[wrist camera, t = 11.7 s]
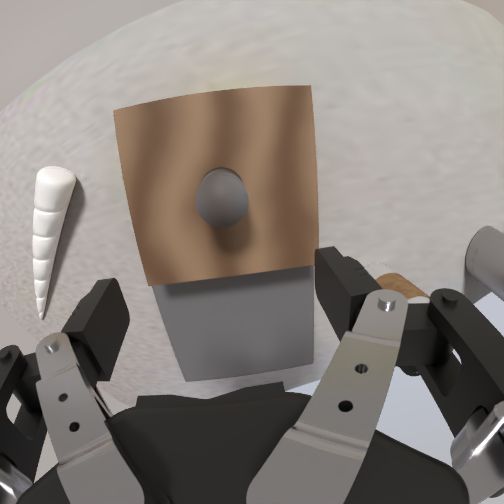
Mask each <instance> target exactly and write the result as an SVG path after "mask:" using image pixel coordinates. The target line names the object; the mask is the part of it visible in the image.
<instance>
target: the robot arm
mask: <svg viewBox="0 0 504 504" xmlns="http://www.w3.org/2000/svg"><path fill="white" fill-rule="evenodd" d="M314 259H315V290H316V294H317V298H318V300H319V302H320V304H321V306H322V308H323V310H324V311H325V313H326V315H327V317H328V319H329V321H330V323H331V325H332V327H333V329H334V331H335V333H336V335H337V337H338V339H339V341H340V344H339V346H338V348H337V350H336V352H335V354H334V356H333V358H332V360H331V362H330V364H329V366H328V368H327V370H326V372H325V373H324V375H323V377H322V379H321V381H320V383H319V385H318V387H317V388H316V390H315V392H314V394H313V395H312V396H310V395H306V394H302V393H294V392H285V390H284V386H283V382H277V383H271V384H265V385H259V386H252V387H245V388H242V389H239V390H236V391H233V392H230V393H227V394H224V395H221V396H218V397H214V398H211V399H198V398H190V397H183V396H176V395H150V396H138V398H137V402H136V406H135V407H131V408H128V409H125V410H123V411H121V412H119V413H117V414H115V415H113V414H112V412H111V411H110V409H109V408H108V406H107V404H106V402H105V400H104V398H103V397H102V395H101V393H100V391H99V389H98V388H97V386H96V384H97V381H110V378H111V375H112V372H113V369H114V366H115V363H116V360H117V357H118V354H119V351H120V348H121V346H122V343H123V340H124V337H125V334H126V332H127V329H128V326H129V322H130V316H129V311H128V308H127V305H126V303H125V300H124V297H123V294H122V292H121V289H120V286H119V283H118V281H117V280H116V279H115V278H110V279H103V280H98V281H97V282H96V284H95V285H94V287H93V288H92V290H91V291H90V293H88V294H87V295H86V296H85V297H84V298H82V299H81V300H80V302H79V303H78V305H77V306H76V309H75V310H74V311H73V313H72V315H71V316H70V318H69V319H68V321H67V322H66V324H65V326H64V327H63V329H62V331H61V332H58V333H53V334H50V335H48V336H47V337H45V338H44V339H42V340H41V341H40V342H39V344H38V346H37V347H36V352H35V353H31V354H28V355H25V356H24V355H23V354H22V352H21V351H20V349H19V347H18V346H16V345H10V346H7V347H5V348H3V349H1V350H0V504H479V503H480V502H482V501H484V500H485V499H487V498H488V497H489V498H493V497H498V496H500V495H502V494H503V493H504V337H503V336H502V335H501V333H500V332H499V331H498V330H497V329H496V328H495V327H494V326H493V325H492V324H491V323H490V322H489V320H488V319H487V318H486V317H485V316H484V315H483V314H482V313H481V312H480V311H479V310H478V309H477V308H476V307H475V306H474V305H473V304H472V303H471V302H470V301H469V300H468V299H467V298H466V297H465V296H464V295H463V294H461V293H460V292H458V291H456V290H452V289H446V288H444V289H438V290H435V291H434V292H432V294H431V296H430V301H429V303H408V300H407V299H406V297H405V296H404V295H402V294H401V293H399V292H397V291H393V290H387V289H383V288H382V287H381V286H380V285H379V284H378V283H377V282H376V280H375V279H374V278H373V277H372V276H371V275H370V274H369V273H368V271H367V270H366V269H364V267H363V266H362V265H361V264H360V263H359V262H358V261H357V260H355V259H353V258H351V257H349V256H347V257H343V256H342V255H341V254H340V252H339V251H338V250H337V249H336V248H335V247H334V246H333V247H326V248H320V249H316V250H315V254H314ZM466 268H467V271H468V272H469V273H470V274H471V275H472V276H473V277H475V278H476V279H477V280H478V281H480V282H481V283H482V284H483V285H485V286H486V287H487V288H488V289H489V290H491V291H492V292H493V293H494V294H495V295H497V296H498V297H499V298H500V299H501V300H503V301H504V233H502V232H500V231H498V230H497V229H495V228H493V227H491V226H487V227H484V228H482V229H481V230H480V231H478V233H477V234H476V235H475V236H474V238H473V239H472V241H471V243H470V245H469V248H468V251H467V255H466ZM453 349H455V351H456V352H457V353H458V355H459V356H460V359H461V363H462V365H461V364H460V362H459V361H458V359H457V358H456V357H455V355H454V354H453V352H452V351H453ZM414 365H415V367H416V368H417V370H418V372H419V373H420V375H421V377H422V379H423V380H424V382H425V383H426V385H427V387H428V389H429V391H430V393H431V394H432V396H433V398H434V400H435V401H436V403H437V405H438V407H439V409H440V411H441V413H442V414H443V416H444V418H445V420H446V422H447V424H448V426H449V427H450V430H451V432H452V434H453V436H454V438H455V439H454V440H453V442H452V445H451V450H450V452H451V458H452V466H453V468H452V467H451V466H449V465H447V464H446V463H444V462H442V461H439V460H437V459H435V458H433V457H431V456H428V455H426V454H424V453H422V452H420V451H418V450H416V449H413V448H411V447H409V446H407V445H405V444H403V443H401V442H399V441H397V440H395V439H393V438H391V437H389V436H387V435H385V434H383V433H382V432H380V431H378V430H376V429H375V428H376V426H377V423H378V420H379V417H380V414H381V411H382V408H383V405H384V402H385V399H386V395H387V392H388V389H389V386H390V382H391V378H392V375H393V371H394V368H395V366H414ZM12 393H13V394H14V395H15V396H16V398H17V399H18V400H19V401H20V403H21V404H22V405H21V407H20V410H19V412H18V415H17V417H16V420H15V422H14V424H13V423H12V422H11V421H10V420H9V418H8V416H7V413H6V407H7V404H8V402H9V399H10V397H11V395H12ZM47 430H48V433H49V435H50V439H51V442H52V445H53V448H54V451H55V453H56V456H57V459H58V463H57V464H56V465H55V466H54V467H53V468H52V469H51V470H49V471H48V472H47V473H46V474H45V475H43V476H42V477H41V478H40V479H39V480H38V481H36V482H35V483H34V479H35V475H36V471H37V467H38V463H39V459H40V455H41V451H42V447H43V444H44V440H45V437H46V434H47Z"/></svg>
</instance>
